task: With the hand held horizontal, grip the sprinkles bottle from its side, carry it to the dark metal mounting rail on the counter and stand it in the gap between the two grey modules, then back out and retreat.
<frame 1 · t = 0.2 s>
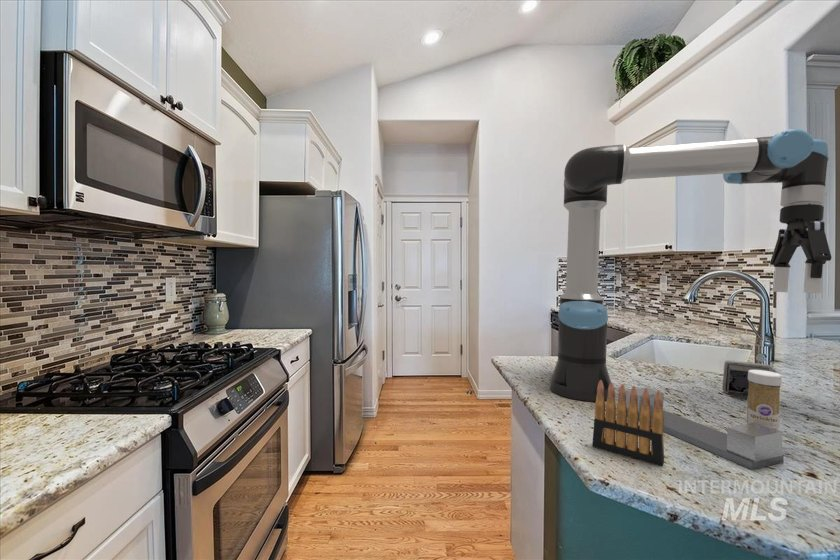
hand: (795, 292, 92), 27 cm above the table, tool pointing down, fingers open, 13 cm apart
electrical switch: (747, 398, 96), on the table
ammunition clip: (626, 455, 65), on the table
rail: (690, 434, 73), on the table
sprinkles bottle: (761, 445, 69), on the table
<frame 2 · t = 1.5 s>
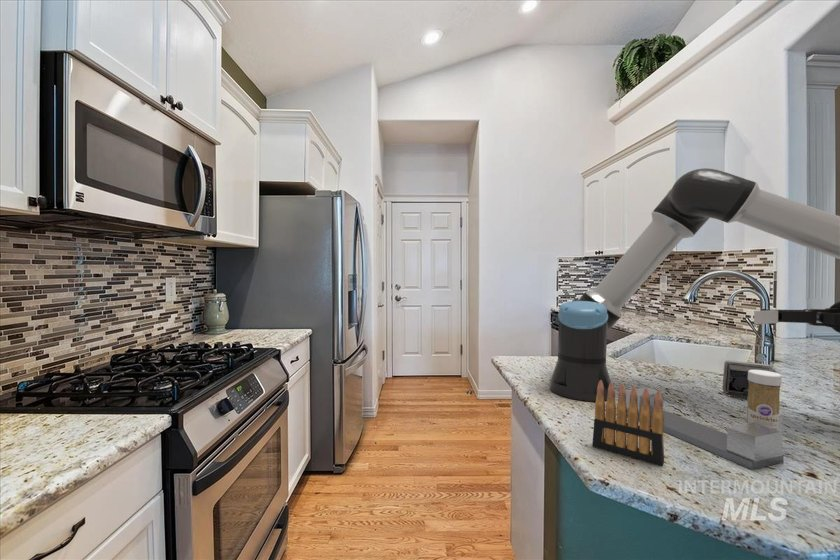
hand: (797, 321, 72), 22 cm above the table, tool horizontal, fingers open, 13 cm apart
nothing on the table moved.
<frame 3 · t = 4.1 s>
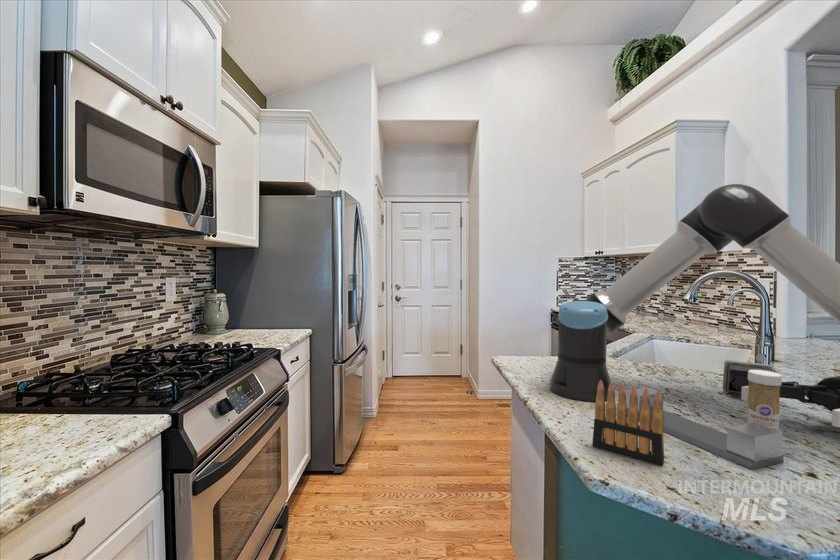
hand: (785, 405, 70), 7 cm above the table, tool horizontal, fingers open, 13 cm apart
nothing on the table moved.
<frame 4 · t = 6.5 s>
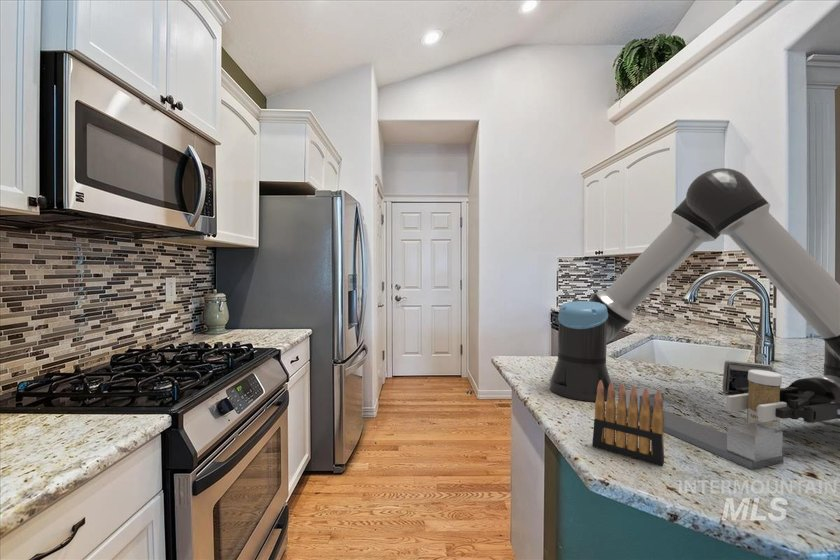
hand: (744, 408, 67), 7 cm above the table, tool horizontal, fingers closed on sprinkles bottle, 4 cm apart
sprinkles bottle: (761, 445, 69), on the table, touching gripper
everything else where it was.
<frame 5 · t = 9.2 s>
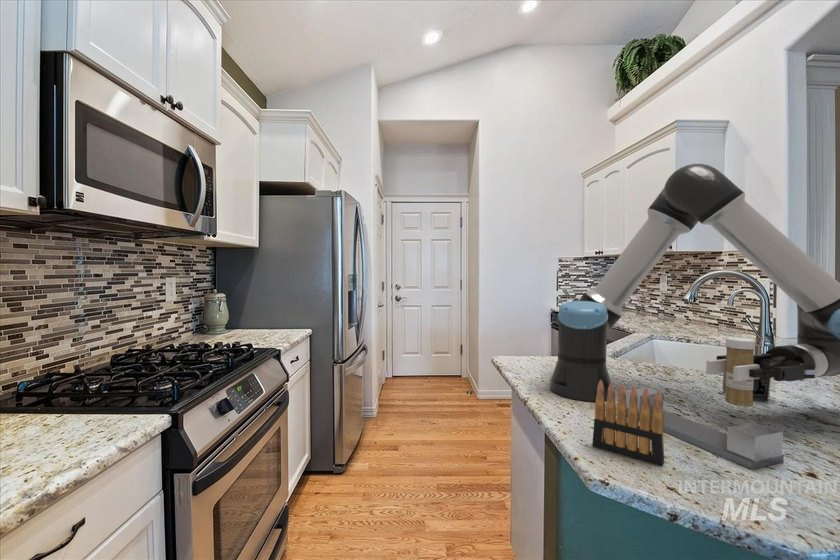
hand: (721, 370, 75), 12 cm above the table, tool horizontal, fingers closed on sprinkles bottle, 4 cm apart
sprinkles bottle: (739, 404, 77), point 5 cm above the table, touching gripper
everything else where it was.
when the fingers open (10 cm above the table, at t = 12.3 s): sprinkles bottle drops 1 cm, resting on rail.
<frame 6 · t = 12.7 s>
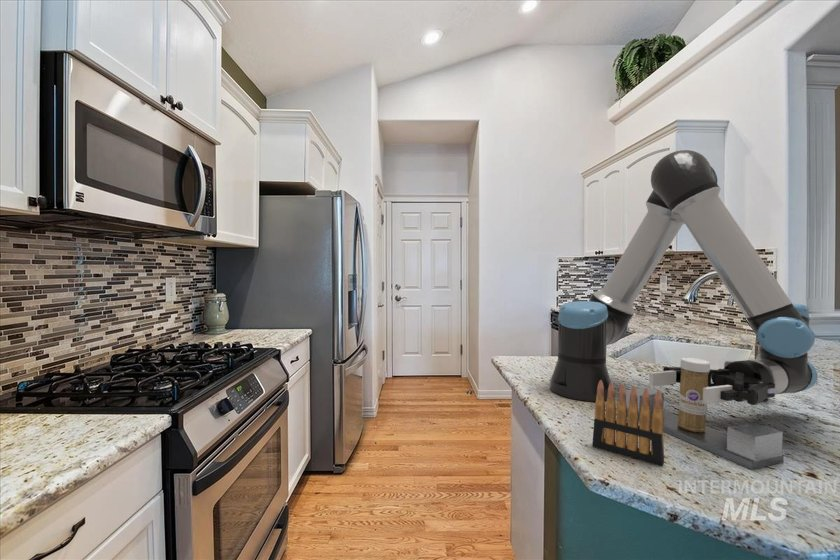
hand: (676, 387, 71), 10 cm above the table, tool horizontal, fingers open, 10 cm apart
sprinkles bottle: (691, 429, 73), point 1 cm above the table, touching rail
everything else where it was.
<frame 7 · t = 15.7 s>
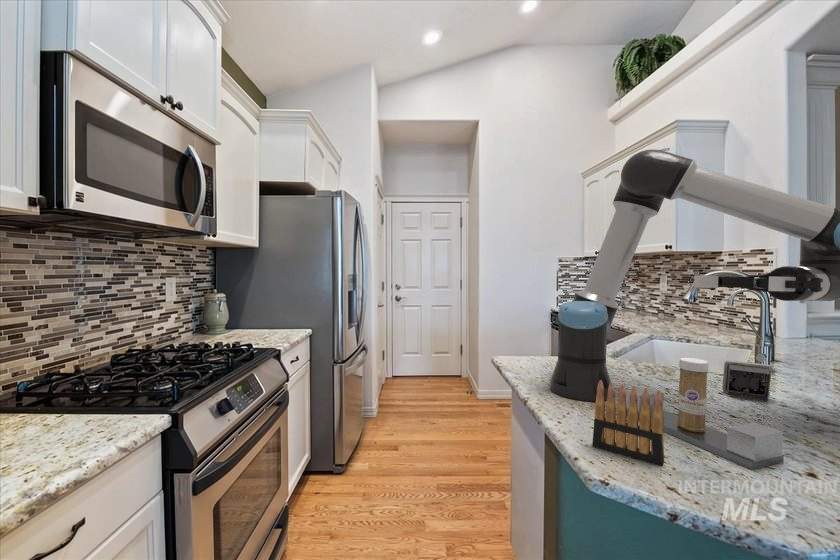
hand: (730, 282, 76), 30 cm above the table, tool horizontal, fingers open, 13 cm apart
nothing on the table moved.
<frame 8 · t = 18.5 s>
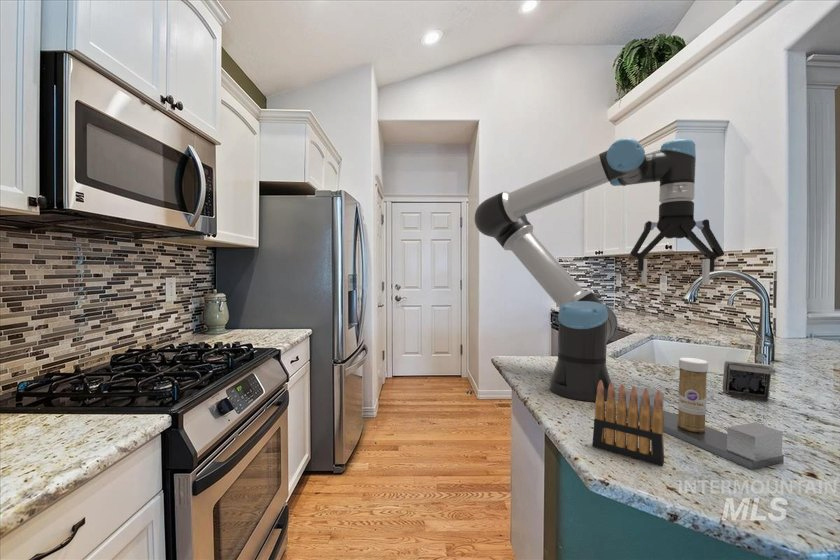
hand: (673, 284, 98), 29 cm above the table, tool pointing down, fingers open, 13 cm apart
nothing on the table moved.
at the end: sprinkles bottle inside the target area (0.1 cm from its centre), point 1.0 cm above the table; sprinkles bottle tilted 0°; the gripper is holding nothing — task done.
